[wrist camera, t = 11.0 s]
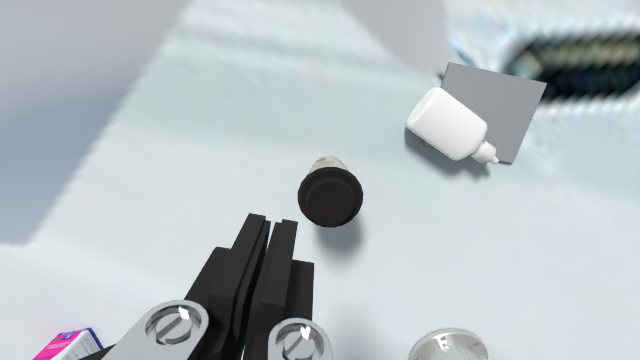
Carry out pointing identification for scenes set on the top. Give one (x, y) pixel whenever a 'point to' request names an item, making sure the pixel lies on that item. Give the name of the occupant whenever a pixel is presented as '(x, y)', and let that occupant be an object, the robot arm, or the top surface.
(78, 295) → the top surface
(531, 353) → the top surface
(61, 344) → the supplement box
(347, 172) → the coffee cup
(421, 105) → the eye dropper bottle
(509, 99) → the mat
